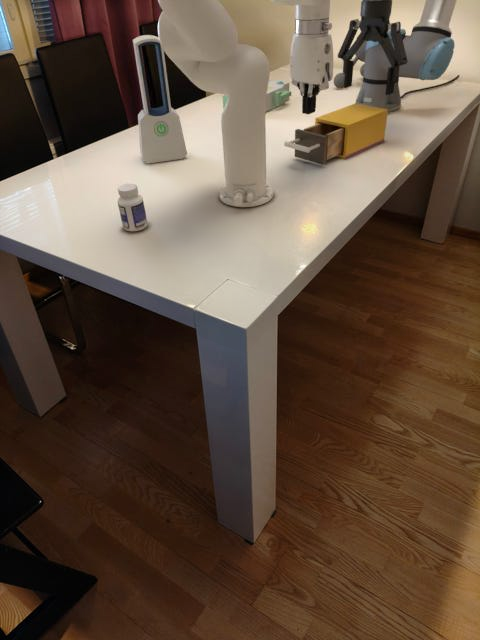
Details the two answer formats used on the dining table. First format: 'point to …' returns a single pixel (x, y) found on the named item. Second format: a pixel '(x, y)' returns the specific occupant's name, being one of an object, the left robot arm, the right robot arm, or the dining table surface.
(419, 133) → the dining table surface
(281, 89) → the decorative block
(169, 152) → the electronic device
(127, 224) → the pill bottle
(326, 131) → the drawer
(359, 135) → the yellow open box
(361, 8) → the right robot arm
